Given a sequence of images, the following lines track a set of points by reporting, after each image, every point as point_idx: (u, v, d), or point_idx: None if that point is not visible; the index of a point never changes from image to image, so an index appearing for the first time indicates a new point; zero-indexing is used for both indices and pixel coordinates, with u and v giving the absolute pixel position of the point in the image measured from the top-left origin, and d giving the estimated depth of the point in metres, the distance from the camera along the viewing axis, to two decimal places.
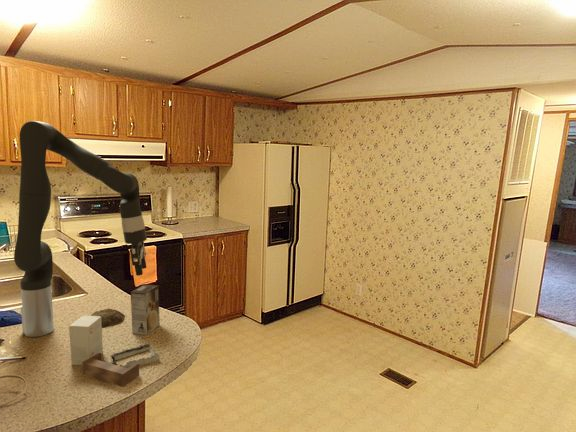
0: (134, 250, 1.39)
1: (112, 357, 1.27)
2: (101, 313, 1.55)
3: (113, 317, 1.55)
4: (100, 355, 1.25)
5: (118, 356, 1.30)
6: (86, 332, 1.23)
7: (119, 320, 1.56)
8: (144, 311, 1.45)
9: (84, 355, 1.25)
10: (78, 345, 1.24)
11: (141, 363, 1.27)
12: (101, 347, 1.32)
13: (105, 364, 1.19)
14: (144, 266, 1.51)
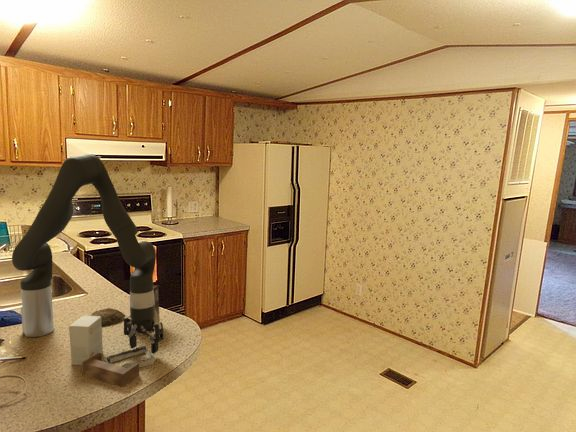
0: (160, 325, 1.29)
1: (107, 359, 1.26)
2: (101, 313, 1.55)
3: (113, 317, 1.55)
4: (100, 355, 1.25)
5: (114, 358, 1.28)
6: (86, 332, 1.23)
7: (119, 319, 1.56)
8: None
9: (84, 355, 1.25)
10: (78, 345, 1.24)
11: None
12: (101, 347, 1.32)
13: (105, 364, 1.19)
14: (135, 344, 1.35)
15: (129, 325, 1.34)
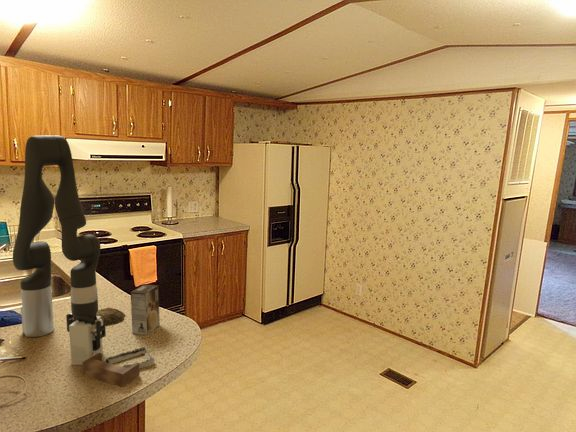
0: (102, 322, 1.25)
1: (106, 361, 1.25)
2: (101, 312, 1.56)
3: (113, 316, 1.56)
4: (100, 355, 1.25)
5: (113, 360, 1.27)
6: (86, 332, 1.23)
7: (119, 319, 1.57)
8: (144, 311, 1.45)
9: (84, 355, 1.25)
10: (78, 345, 1.24)
11: None
12: (101, 347, 1.32)
13: (105, 364, 1.19)
14: None
15: (72, 321, 1.29)
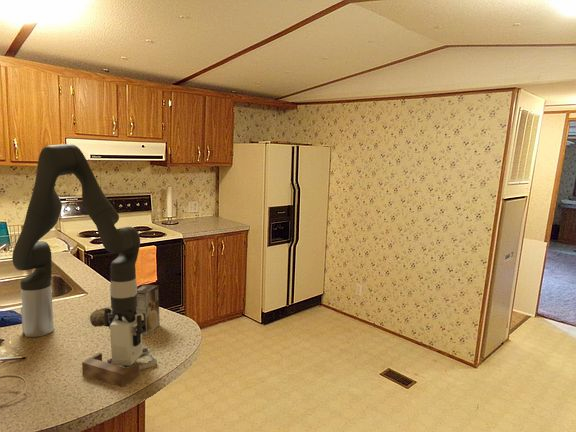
0: (143, 316, 1.21)
1: (108, 362, 1.25)
2: (102, 311, 1.57)
3: (113, 316, 1.56)
4: (100, 355, 1.25)
5: None
6: (127, 332, 1.20)
7: None
8: (144, 311, 1.45)
9: (125, 355, 1.21)
10: (118, 345, 1.21)
11: None
12: (141, 347, 1.28)
13: (105, 364, 1.19)
14: None
15: (110, 316, 1.26)
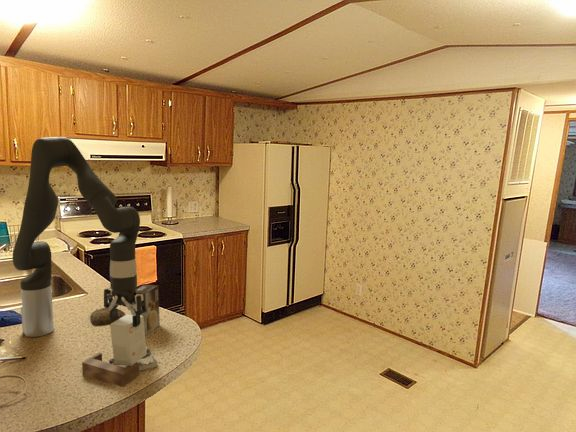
0: (142, 296, 1.20)
1: (110, 362, 1.25)
2: (102, 311, 1.57)
3: None
4: (100, 355, 1.25)
5: None
6: (126, 332, 1.19)
7: (119, 318, 1.58)
8: None
9: (125, 355, 1.21)
10: (118, 345, 1.21)
11: None
12: (144, 348, 1.27)
13: (105, 364, 1.19)
14: (116, 318, 1.26)
15: (110, 297, 1.25)
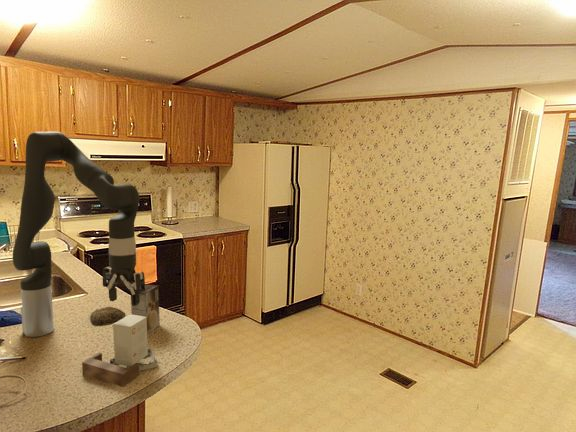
0: (142, 275, 1.19)
1: (111, 362, 1.25)
2: (102, 311, 1.57)
3: (113, 315, 1.57)
4: (100, 355, 1.25)
5: None
6: (128, 333, 1.19)
7: (119, 318, 1.58)
8: (144, 311, 1.45)
9: (126, 355, 1.21)
10: (120, 345, 1.21)
11: (139, 370, 1.23)
12: (145, 349, 1.27)
13: (105, 364, 1.19)
14: (115, 297, 1.25)
15: (109, 276, 1.24)
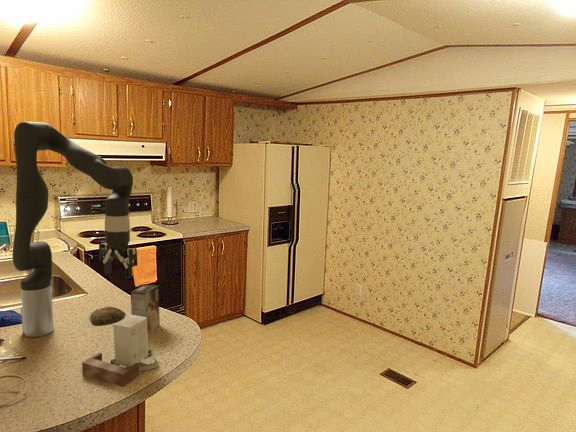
0: (134, 250, 1.30)
1: (111, 362, 1.25)
2: (102, 311, 1.57)
3: (113, 315, 1.57)
4: (100, 355, 1.25)
5: None
6: (128, 333, 1.19)
7: (119, 318, 1.58)
8: (144, 311, 1.45)
9: (126, 356, 1.21)
10: (121, 345, 1.21)
11: (139, 370, 1.23)
12: (146, 349, 1.27)
13: (105, 364, 1.19)
14: (110, 271, 1.35)
15: (104, 251, 1.34)
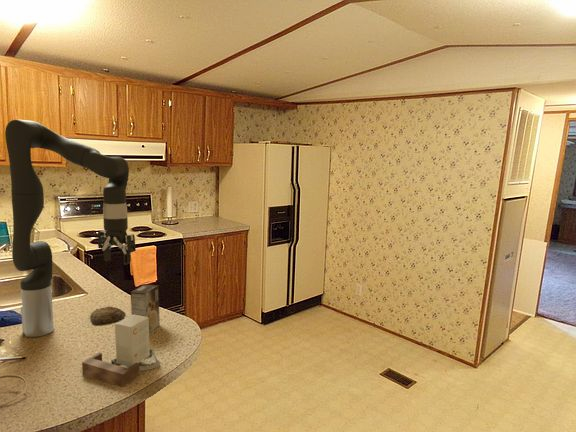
0: (132, 236, 1.35)
1: (112, 362, 1.25)
2: (102, 311, 1.57)
3: (113, 315, 1.57)
4: (100, 355, 1.25)
5: None
6: (129, 333, 1.19)
7: (120, 318, 1.58)
8: (144, 311, 1.45)
9: (127, 356, 1.21)
10: (122, 345, 1.21)
11: (141, 370, 1.23)
12: (147, 349, 1.27)
13: (105, 364, 1.19)
14: (109, 258, 1.41)
15: (103, 239, 1.40)
